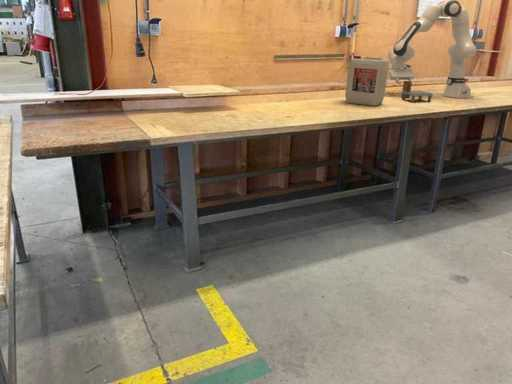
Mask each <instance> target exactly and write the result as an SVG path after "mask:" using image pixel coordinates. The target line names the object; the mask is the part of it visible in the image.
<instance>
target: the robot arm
mask: <svg viewBox="0 0 512 384" xmlns="http://www.w3.org/2000/svg"><path fill="white" fill-rule="evenodd" d="M440 17H441V18H450V19H451V29H452V30H451V31H452V37H453V39H454V41H455V42H454V43H452V44H450V45H449V46H448V51H447V53H448V55H449V58H450V61H449V62H450V67H449V72H448V77H447V80H446V85H445V89H444V92H443V94H442V96H443V97H448V98H455V99H456V98H458V99H467V98H469V99H470V98H473V97H474V95H472V93H471V88H470V87H469V86H468V84H467V83H466V82H469V78H466V77H465V76H466V72H467V65H466V61H465V60H469V59H472V58H473V57H474V56H475V55H476V54H477V46H476V45H475V44H474V42H473V40H472V39H473V38H472V36H471V31H470V21H469V20H470V18H469V13H468V9H467V8H466V7H464V6H461V4H460V2H459V1H457V0H442V1H439V3H435V2H434V3H430V4H429V5H428V6H427V7H426V8H425V9H424V11H423V12H422V14H421V15H420V17H419V18H418V19H417V20H416V21H415V22H414V23H412V25H410V26H409V28H408V29H407V31H406V32H405V33H404V34H403V35H402V37H401V38H400V39H399V40H398V41H397V42H396V43H395V44H394V45H393V48H392V49H390V50H389V52H388V55H387V57H388V60H389V63H390V65H391V68H388V77H389V80H391V81H395V82H396V84H397V85H401V83H402V80H403V81H412V80H414V79H415V77H416V74H415V72H414V70H413V68H412V66H411V65H409V64H407V62H408V61H410V60H412V58H414V55H415V50H414V48H412V47H411V46H410V45H409V43H410V42H411V41H412V40H413V38H414V37H415V35H417V34H419V33H427V32H428V31H430V30H431V29H432V27H433V26H435V25H434V24H435V23H436V21H438V19H439V18H440ZM400 80H401V81H400Z"/></svg>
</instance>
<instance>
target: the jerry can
mask: <svg viewBox="0 0 512 384" xmlns="http://www.w3.org/2000/svg"><path fill="white" fill-rule="evenodd" d="M389 63H390V61H389V58H388V59H387V58H385V57H380V56H379V57H375V56H374V57H373V56H365V57H361V55H353V57H352V58H351V59H350V60H349V63H348V66H347V78H346V87H345V96H344V97H345V102H346V103H348V104H354V105H364V106H372V107H376V106H378V105H380V104H382V103H383V102H384V98H385V97H386V95H385V94H386V86H387V80H388V76H389V73H388V69H389V67H390V66H389Z"/></svg>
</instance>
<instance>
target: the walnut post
mask: <svg viewBox="0 0 512 384" xmlns="http://www.w3.org/2000/svg"><path fill="white" fill-rule="evenodd" d="M412 84H413V81H412V80H411V81H409V80H403V84H402V91H401V99H402V96H403V91H412ZM410 96H411V95H407V94H406V97H405V99H410Z"/></svg>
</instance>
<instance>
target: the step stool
mask: <svg viewBox="0 0 512 384" xmlns="http://www.w3.org/2000/svg"><path fill="white" fill-rule="evenodd" d="M406 94H407V95H410V96H411V99H410V103H412V104H413V103H414V104H415V98H416V97H418V100H422V98H423V97H427V103H431V101H432V96H433V95H434V94H433V93H432V92H429V91H424V90H411V91H403V96H402V95H401V96H402V98H401V100H402V101H406V98H405V97H406Z"/></svg>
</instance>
